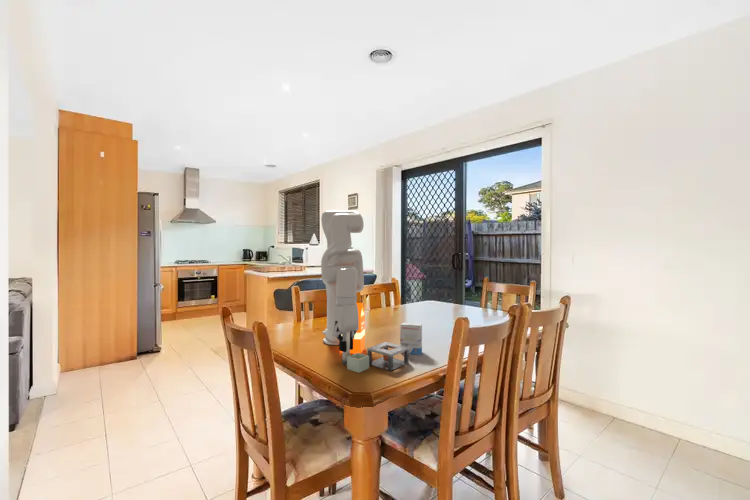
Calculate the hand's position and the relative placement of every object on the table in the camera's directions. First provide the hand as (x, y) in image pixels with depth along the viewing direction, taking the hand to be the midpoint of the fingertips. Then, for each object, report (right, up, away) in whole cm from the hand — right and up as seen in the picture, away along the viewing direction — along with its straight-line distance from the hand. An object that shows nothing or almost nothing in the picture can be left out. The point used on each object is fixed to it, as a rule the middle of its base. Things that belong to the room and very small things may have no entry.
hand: (346, 349), depth 132 cm
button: (+16, -4, 0) cm, 16 cm away
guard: (+16, -5, 0) cm, 16 cm away
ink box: (+26, -5, +14) cm, 30 cm away
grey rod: (0, -5, 0) cm, 5 cm away
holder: (+5, -5, -5) cm, 9 cm away
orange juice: (+1, -5, +16) cm, 17 cm away
